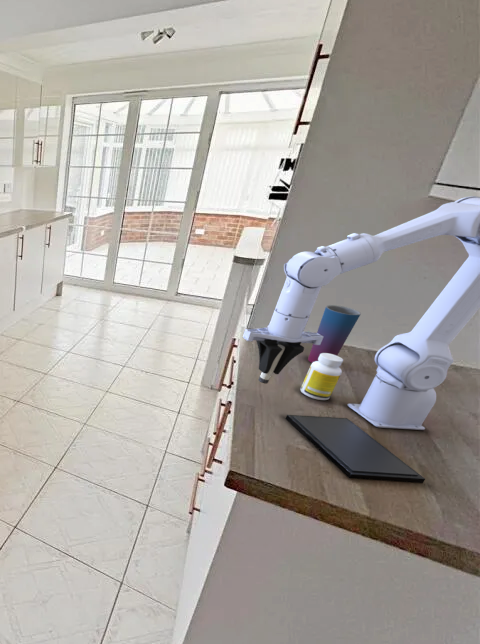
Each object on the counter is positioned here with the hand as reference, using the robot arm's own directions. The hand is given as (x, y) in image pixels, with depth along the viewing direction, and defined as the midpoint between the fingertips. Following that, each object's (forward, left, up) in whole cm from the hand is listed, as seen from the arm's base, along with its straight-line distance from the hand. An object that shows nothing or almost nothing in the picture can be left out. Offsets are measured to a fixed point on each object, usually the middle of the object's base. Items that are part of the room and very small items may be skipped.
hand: (268, 371), depth 88 cm
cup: (-28, -21, -8) cm, 36 cm away
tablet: (-8, +15, -7) cm, 19 cm away
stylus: (0, 0, -3) cm, 3 cm away
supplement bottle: (-15, -4, -8) cm, 17 cm away
